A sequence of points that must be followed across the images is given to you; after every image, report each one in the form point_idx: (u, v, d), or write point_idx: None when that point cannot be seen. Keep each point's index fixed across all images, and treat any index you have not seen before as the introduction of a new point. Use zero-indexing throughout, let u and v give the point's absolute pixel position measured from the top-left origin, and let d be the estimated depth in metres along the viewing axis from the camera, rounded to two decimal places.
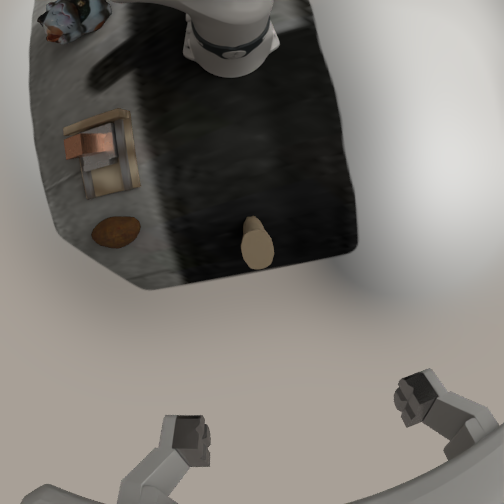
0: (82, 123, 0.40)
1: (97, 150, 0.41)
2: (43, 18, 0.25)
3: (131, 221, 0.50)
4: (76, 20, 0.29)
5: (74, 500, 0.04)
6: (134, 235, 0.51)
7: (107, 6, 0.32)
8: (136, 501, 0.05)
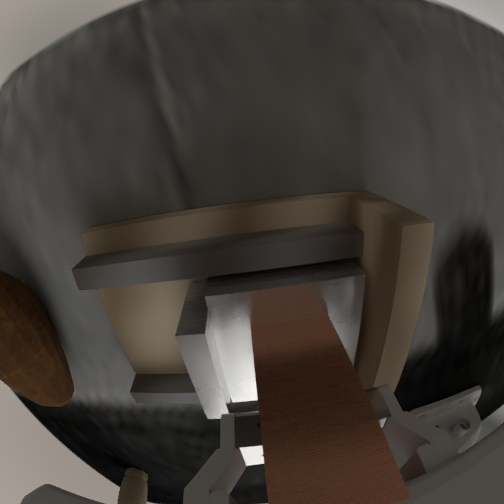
0: (405, 331, 0.10)
1: None
2: None
3: (63, 402, 0.14)
4: None
5: (74, 500, 0.04)
6: None
7: None
8: None
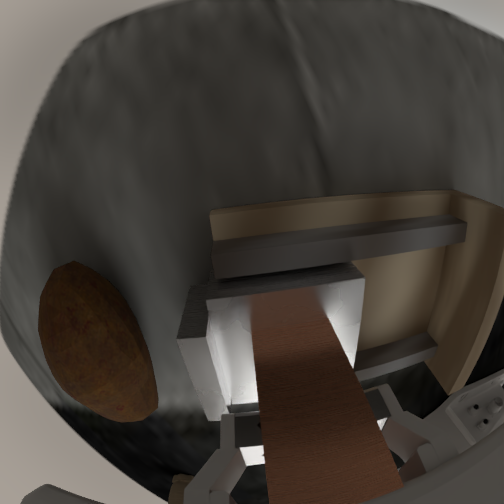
0: (498, 298, 0.10)
1: None
2: None
3: None
4: None
5: (74, 500, 0.04)
6: None
7: None
8: None
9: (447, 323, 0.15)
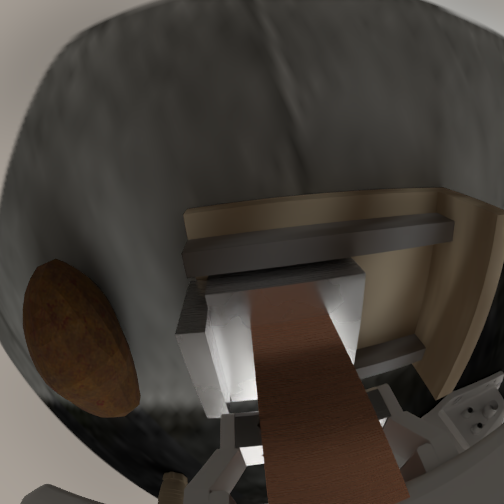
0: (487, 301, 0.10)
1: None
2: None
3: (130, 411, 0.14)
4: None
5: (74, 500, 0.04)
6: None
7: None
8: None
9: (435, 325, 0.14)
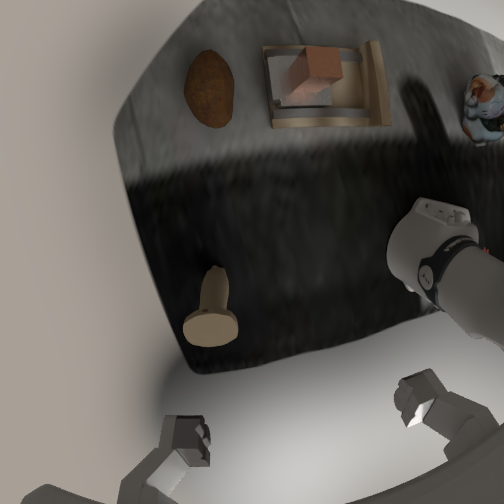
0: (381, 71, 0.28)
1: (300, 87, 0.28)
2: (502, 82, 0.23)
3: (227, 117, 0.32)
4: (487, 118, 0.29)
5: (74, 500, 0.04)
6: (204, 121, 0.32)
7: (485, 143, 0.35)
8: (136, 501, 0.05)
9: (368, 95, 0.32)
